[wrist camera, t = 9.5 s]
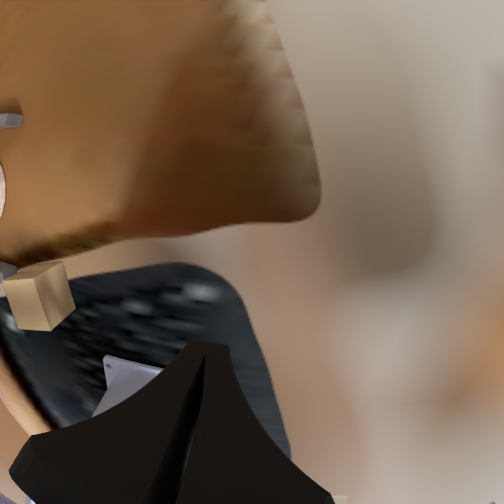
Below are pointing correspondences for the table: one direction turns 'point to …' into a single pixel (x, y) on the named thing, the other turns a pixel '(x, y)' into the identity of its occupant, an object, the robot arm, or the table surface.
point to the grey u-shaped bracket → (5, 121)
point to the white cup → (2, 190)
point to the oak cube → (39, 296)
